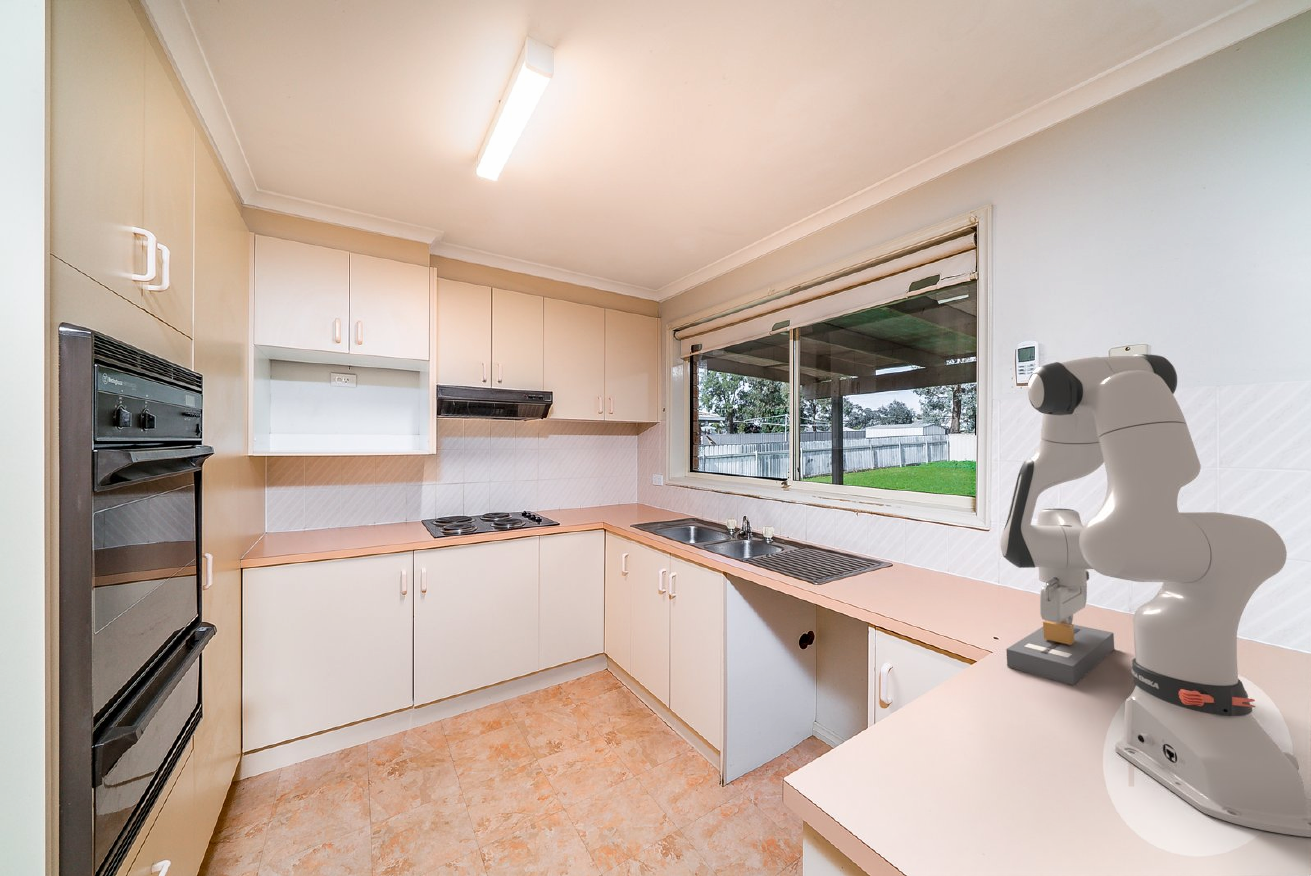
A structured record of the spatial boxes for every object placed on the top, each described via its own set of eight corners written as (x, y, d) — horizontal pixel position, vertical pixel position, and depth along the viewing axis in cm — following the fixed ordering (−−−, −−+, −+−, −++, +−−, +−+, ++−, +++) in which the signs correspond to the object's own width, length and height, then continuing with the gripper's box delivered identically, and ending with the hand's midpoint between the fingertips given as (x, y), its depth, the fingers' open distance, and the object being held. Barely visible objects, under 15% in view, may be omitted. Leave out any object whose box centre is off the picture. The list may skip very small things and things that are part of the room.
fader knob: (1070, 644, 112) (1069, 626, 112) (1043, 638, 116) (1042, 621, 116) (1074, 641, 114) (1073, 624, 114) (1048, 635, 118) (1047, 618, 118)
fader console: (1074, 685, 102) (1072, 665, 102) (1007, 666, 112) (1006, 648, 112) (1114, 649, 120) (1113, 632, 120) (1054, 635, 130) (1053, 619, 130)
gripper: (1063, 584, 109) (1067, 647, 108) (1091, 571, 121) (1094, 627, 120) (1030, 579, 114) (1033, 639, 114) (1059, 567, 126) (1062, 621, 125)
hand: (1065, 633), depth 117 cm, fingers closed
